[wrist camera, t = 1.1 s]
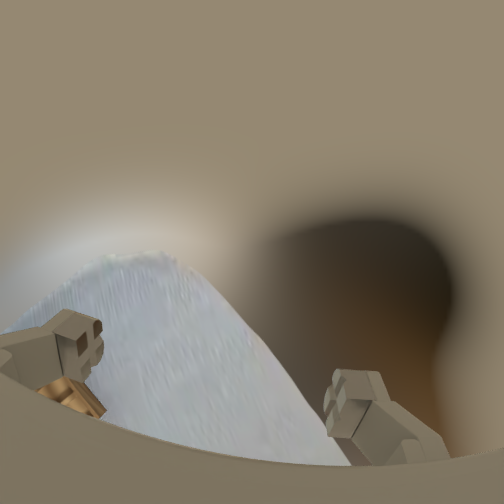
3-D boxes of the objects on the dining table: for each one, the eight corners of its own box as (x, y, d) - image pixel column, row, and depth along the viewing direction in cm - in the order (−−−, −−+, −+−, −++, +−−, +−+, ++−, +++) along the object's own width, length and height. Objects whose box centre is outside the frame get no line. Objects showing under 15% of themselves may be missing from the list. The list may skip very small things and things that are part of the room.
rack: (50, 336, 54) (41, 339, 50) (106, 410, 54) (100, 417, 50) (14, 373, 53) (4, 377, 49) (64, 440, 52) (57, 447, 48)
